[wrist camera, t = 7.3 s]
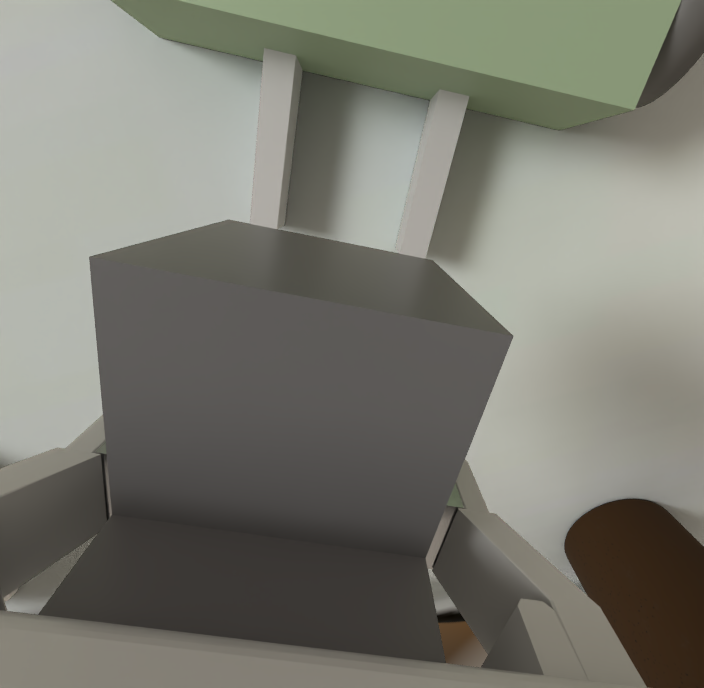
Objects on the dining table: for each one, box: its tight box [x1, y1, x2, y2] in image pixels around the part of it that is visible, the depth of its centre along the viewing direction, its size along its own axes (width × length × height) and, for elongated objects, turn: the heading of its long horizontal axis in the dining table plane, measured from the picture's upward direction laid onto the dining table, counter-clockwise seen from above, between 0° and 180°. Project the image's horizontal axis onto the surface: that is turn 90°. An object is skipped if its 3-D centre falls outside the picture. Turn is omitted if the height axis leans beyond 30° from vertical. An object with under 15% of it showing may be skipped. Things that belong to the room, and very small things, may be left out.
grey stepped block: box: [38, 220, 513, 663], centre depth 7 cm, size 8×5×6 cm, turn 169°
